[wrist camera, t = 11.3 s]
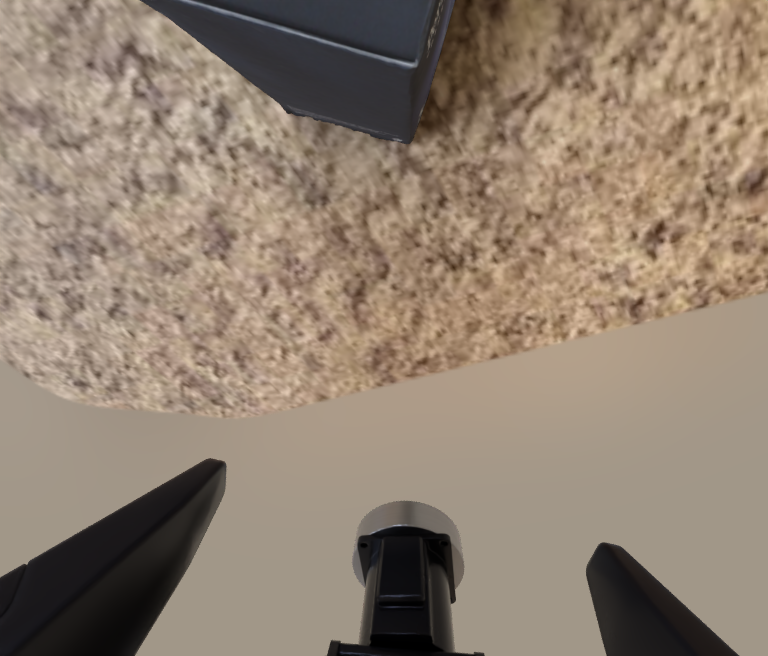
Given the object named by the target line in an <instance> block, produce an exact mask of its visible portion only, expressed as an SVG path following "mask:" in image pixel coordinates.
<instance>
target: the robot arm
mask: <svg viewBox="0 0 768 656" xmlns="http://www.w3.org/2000/svg"><path fill="white" fill-rule="evenodd" d="M225 485H226V463H225V462H224V461H221V460H216V459H211V458H210V459H206V460H204V461H202V462H200V463H199V464H197V465H195V466H194V467H192V468H190V469H188V470H187V471H185V472H183V473H182V474H180V475H178V476H176V477H175V478H173V479H171V480H169V481H168V482H166V483H164V484H162V485H161V486H159V487H157V488H155V489H154V490H152V491H150V492H148V493H147V494H145V495H143V496H142V497H140V498H138V499H136V500H134V501H133V502H131V503H129V504H128V505H126V506H124V507H122V508H120V509H119V510H117V511H115V512H114V513H112V514H110V515H108V516H107V517H105V518H103V519H101V520H100V521H98V522H96V523H94V524H93V525H91V526H89V527H88V528H86V529H84V530H82V531H80V532H79V533H77V534H75V535H74V536H72V537H70V538H68V539H67V540H65V541H63V542H61V543H60V544H58V545H56V546H55V547H53V548H51V549H49V550H48V551H46V552H44V553H42V554H41V555H39V556H37V557H35V558H34V559H32V560H30V561H29V562H28V564H27V565H26V564H23V565H21V566H19V567H18V568H16V569H14V570H12V571H11V572H9V573H7V574H5V575H4V576H2V577H1V578H0V656H135V655H136V653H137V651H138V650H139V648H140V646H141V645H142V643H143V641H144V640H145V638H146V637H147V635H148V633H149V631H150V630H151V628H152V627H153V625H154V623H155V622H156V620H157V618H158V617H159V615H160V614H161V612H162V610H163V609H164V607H165V605H166V603H167V602H168V600H169V599H170V597H171V595H172V594H173V592H174V591H175V588H176V587H177V585H178V584H179V582H180V581H181V579H182V577H183V576H184V574H185V572H186V570H187V569H188V567H189V565H190V563H191V561H192V559H193V557H194V555H195V553H196V551H197V549H198V547H199V545H200V543H201V541H202V539H203V537H204V535H205V533H206V531H207V529H208V527H209V525H210V523H211V520H212V518H213V516H214V514H215V512H216V510H217V508H218V506H219V504H220V502H221V500H222V497H223V495H224V492H225ZM357 548H358V553H359V558H360V563H361V568H362V573H363V578H364V583H365V595H364V603H363V611H362V620H361V628H360V636H359V644H347V643H341V641H336V640H331V643H330V647H329V650H328V654H327V656H484V653H481V652H474V654H468V653H456V652H455V645H454V635H453V624H452V613H451V604H452V603H454V602H455V601H456V597H455V584H454V572H453V559H452V547H451V538H450V536H449V535H448V534H445V533H432V534H389V535H362V536H360V537H359V538H358V542H357ZM586 576H587V581H588V585H589V588H590V592H591V597H592V600H593V605H594V609H595V612H596V616H597V620H598V624H599V628H600V632H601V636H602V640H603V644H604V647H605V651H606V654H607V656H739V655H738V654H737V653H736V652H735V651H733V650H732V649H731V648H730V647H729V646H728V645H727V644H726V643H725V642H724V641H723V640H722V639H721V638H719V637H718V636H717V635H716V634H715V633H714V632H713V631H712V630H711V629H710V628H709V627H707V626H706V625H705V624H704V623H703V622H702V621H701V620H700V619H699V618H698V617H697V616H696V615H695V614H693V613H692V612H691V611H690V610H689V609H688V608H687V607H686V606H685V605H684V604H683V603H681V602H680V601H679V600H678V599H677V598H676V597H675V596H674V595H673V594H672V593H671V592H669V590H668V589H666V588H665V587H664V586H663V585H662V584H661V583H660V582H659V581H658V580H657V579H656V578H655V577H654V576H652V575H651V574H650V573H649V572H648V571H647V570H646V569H645V568H644V567H643V566H641V564H639V563H638V562H637V561H636V560H635V559H634V558H633V557H632V556H631V555H630V554H629V553H627V552H626V551H625V550H624V549H623V548H622V547H620V546H617V545H614V544H609V543H600V544H599V545H598V546H597V548H596V550H595V552H594V554H593V555H592V557H591V559H590V561H589V562H588V564H587V568H586Z"/></svg>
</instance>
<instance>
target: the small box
mask: <svg viewBox="0 0 768 656" xmlns="http://www.w3.org/2000/svg"><path fill="white" fill-rule="evenodd" d="M140 1H142V2H144V3H145V4H147V5H149V6H150V7H152V8H153V9H155V10H156V11H158V12H160V13H162V14H163V15H165V16H166V17H168V18H169V19H170V20H171V21H173V22H174V23H175V24H176V25H178V26H179V27H180V28H182V29H183V30H184V31H186V32H187V33H188V34H190V35H191V36H192V37H193V38H195V39H196V40H197V41H198V42H200V43H201V44H202V45H204V46H205V47H206V48H208V49H209V50H210V51H211V52H212V53H214V54H215V55H217V56H218V57H219V58H220V59H222V60H223V61H224V62H226V63H227V64H228V65H229V66H231V67H232V68H234V69H235V70H236V71H238V72H239V73H240V74H241V75H242V76H244V77H245V78H246V79H248V80H249V81H250V82H251V83H252V84H254V85H255V86H256V87H258V88H259V89H261V90H262V91H263V92H265V93H266V94H267V95H269V96H270V97H271V98H273V99H274V100H275V101H277V102H278V103H279V104H280V105H281V106H282V107H283V109H284V110H285V111H286V113H287V114H290V113H292V114H294V115H296V116H302V117H305V116H307V117H312V118H313V119H314V120H316V121H318V120H321V121H322V122H329V123H334V124H335V125H340V126H343V127H347V128H350V129H352V130H353V131H360V132H363V133H368V134H370V136H372V137H375V138H379V139H385V140H390V141H398V142H401V143H404V144H410V143H411V142H412V140H413V138H414V135H415V132H416V129H417V127H418V124H419V121H420V118H421V115H422V112H423V109H424V106H425V103H426V100H427V98H428V95H429V91H430V87H431V84H432V80H433V77H434V74H435V70H436V67H437V63H438V60H439V56H440V53H441V49H442V46H443V42H444V38H445V35H446V31H447V28H448V24H449V20H450V17H451V13H452V10H453V6H454V2H455V0H140Z"/></svg>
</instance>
